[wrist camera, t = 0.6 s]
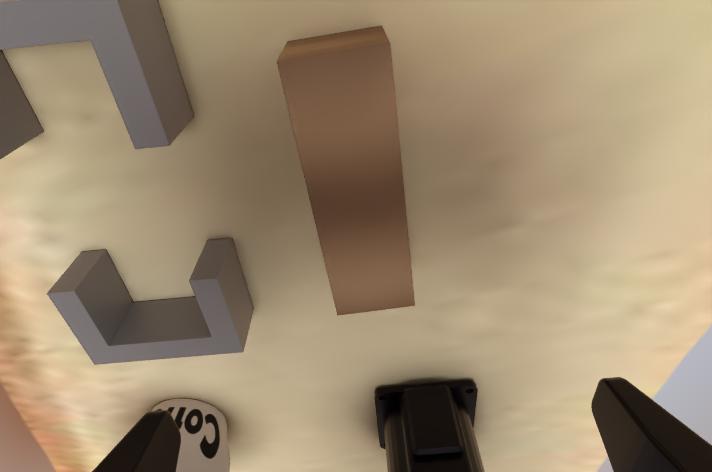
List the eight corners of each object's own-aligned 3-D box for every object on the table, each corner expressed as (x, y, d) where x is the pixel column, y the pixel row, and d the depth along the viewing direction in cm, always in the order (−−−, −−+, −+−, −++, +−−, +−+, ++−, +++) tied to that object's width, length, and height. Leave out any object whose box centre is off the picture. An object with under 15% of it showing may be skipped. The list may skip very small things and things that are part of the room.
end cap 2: (253, 308, 23) (243, 352, 21) (120, 320, 24) (94, 364, 21) (231, 238, 21) (216, 278, 18) (81, 251, 21) (46, 293, 18)
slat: (405, 257, 22) (414, 305, 19) (338, 266, 22) (337, 315, 19) (381, 24, 16) (390, 43, 13) (288, 40, 16) (276, 61, 13)
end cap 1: (-59, 4, 15) (-139, 17, 12) (151, -19, 15) (113, -11, 12) (14, 134, 17) (-39, 166, 15) (193, 116, 17) (169, 145, 15)
